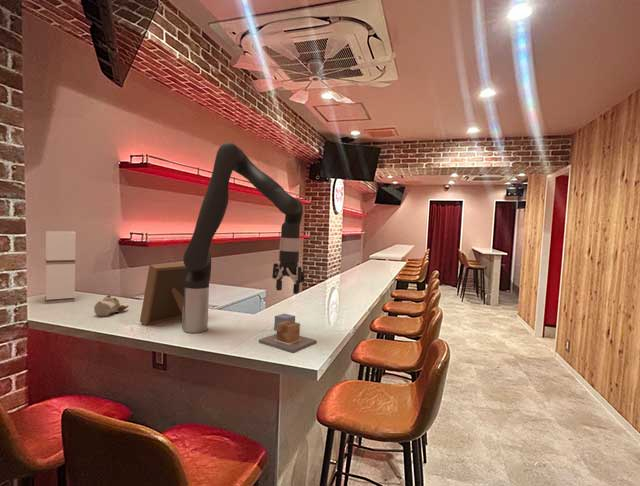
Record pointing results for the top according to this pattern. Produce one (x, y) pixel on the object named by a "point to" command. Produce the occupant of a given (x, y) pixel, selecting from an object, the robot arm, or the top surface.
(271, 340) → the base plate
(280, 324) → the walnut block
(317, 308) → the top surface
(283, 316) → the slate block
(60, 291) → the white stacked pillar
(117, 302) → the ceramic sculpture
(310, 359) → the top surface
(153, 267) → the photo frame
